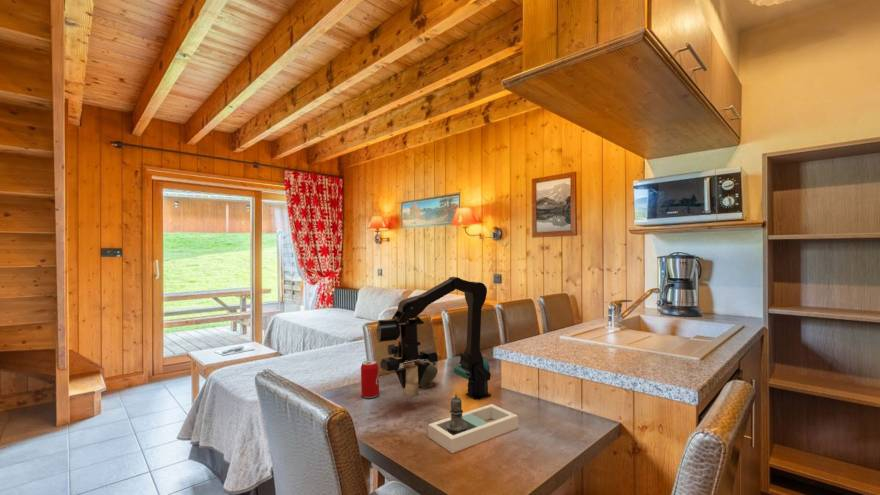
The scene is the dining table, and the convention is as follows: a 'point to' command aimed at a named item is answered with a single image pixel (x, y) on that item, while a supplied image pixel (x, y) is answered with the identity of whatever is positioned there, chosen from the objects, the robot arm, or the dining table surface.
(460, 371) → the bracket
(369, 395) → the beverage can
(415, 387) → the wooden peg
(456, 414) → the salt shaker
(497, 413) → the housing
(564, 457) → the dining table surface
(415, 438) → the dining table surface
